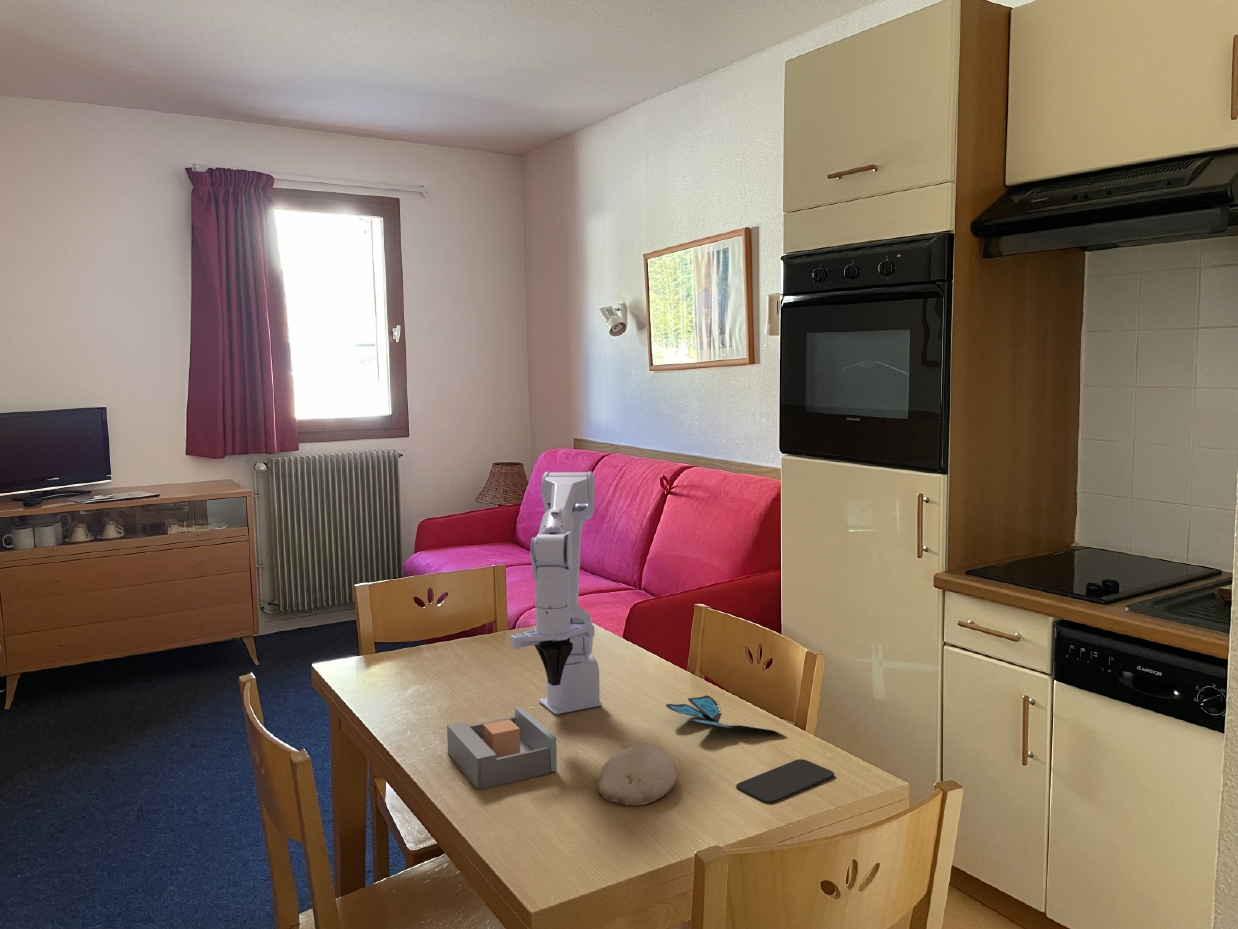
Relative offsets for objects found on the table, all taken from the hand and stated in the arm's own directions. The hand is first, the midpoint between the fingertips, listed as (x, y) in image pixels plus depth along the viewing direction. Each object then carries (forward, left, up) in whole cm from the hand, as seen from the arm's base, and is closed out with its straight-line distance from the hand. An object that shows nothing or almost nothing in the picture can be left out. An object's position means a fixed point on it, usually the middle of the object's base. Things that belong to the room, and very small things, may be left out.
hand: (554, 683), depth 155 cm
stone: (-3, +24, -10) cm, 26 cm away
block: (+11, +5, -9) cm, 15 cm away
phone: (-24, +32, -10) cm, 41 cm away
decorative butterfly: (-27, +9, -10) cm, 30 cm away
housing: (+12, +5, -9) cm, 16 cm away
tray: (+12, +5, -9) cm, 16 cm away
